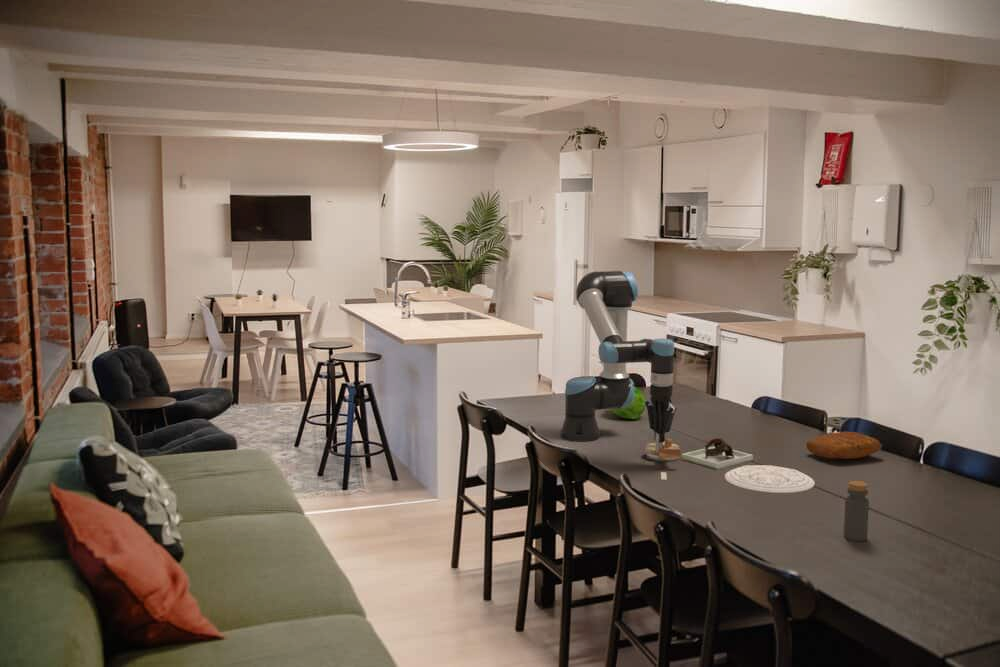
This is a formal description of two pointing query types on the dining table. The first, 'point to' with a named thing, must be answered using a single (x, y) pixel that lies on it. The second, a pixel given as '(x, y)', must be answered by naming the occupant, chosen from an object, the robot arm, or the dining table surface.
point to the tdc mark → (663, 476)
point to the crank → (664, 449)
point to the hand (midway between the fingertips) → (659, 450)
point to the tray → (716, 458)
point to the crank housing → (656, 457)
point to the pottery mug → (718, 448)
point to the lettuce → (633, 406)
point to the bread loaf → (843, 445)
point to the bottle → (856, 512)
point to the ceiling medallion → (769, 479)
